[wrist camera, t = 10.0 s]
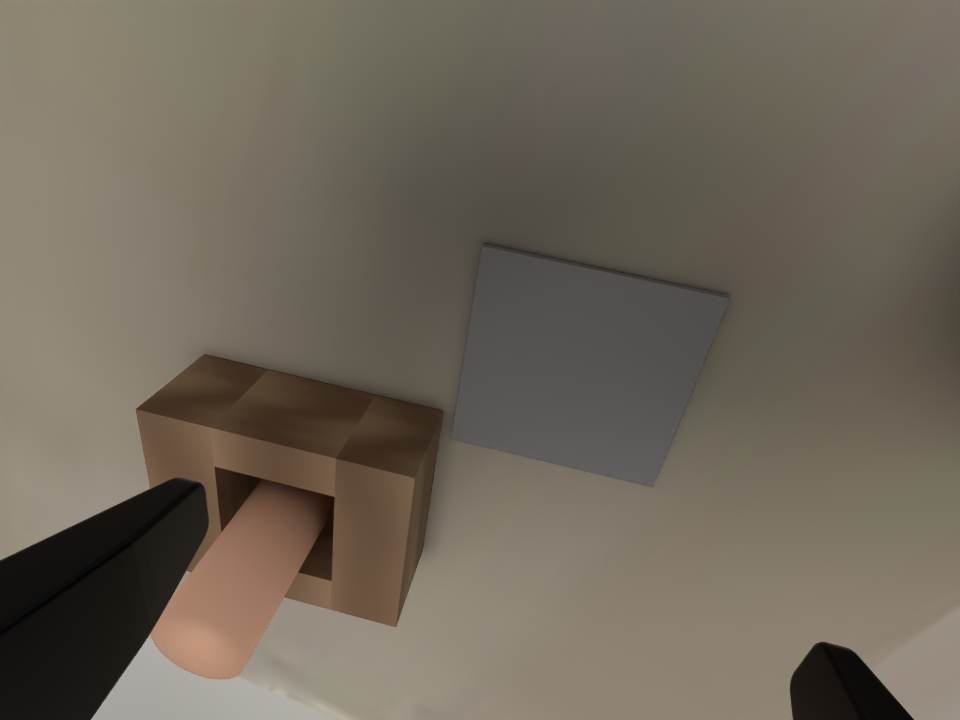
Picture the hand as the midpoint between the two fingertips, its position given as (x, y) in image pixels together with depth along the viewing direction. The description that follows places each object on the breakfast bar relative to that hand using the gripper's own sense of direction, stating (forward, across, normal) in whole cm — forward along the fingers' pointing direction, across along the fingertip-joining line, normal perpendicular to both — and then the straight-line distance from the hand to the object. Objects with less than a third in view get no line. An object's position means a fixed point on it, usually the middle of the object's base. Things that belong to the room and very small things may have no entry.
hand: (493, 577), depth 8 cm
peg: (+12, +8, +10) cm, 18 cm away
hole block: (+12, +8, +10) cm, 18 cm away
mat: (+12, -2, +4) cm, 13 cm away
